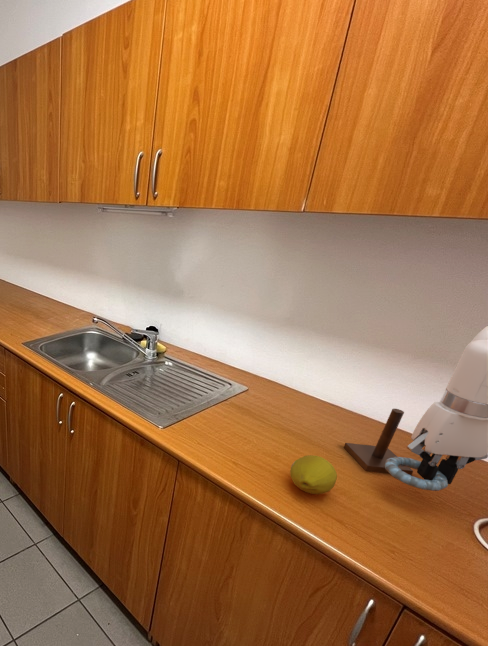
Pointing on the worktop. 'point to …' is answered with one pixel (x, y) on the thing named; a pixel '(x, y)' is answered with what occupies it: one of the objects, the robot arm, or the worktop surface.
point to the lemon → (313, 474)
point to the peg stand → (378, 447)
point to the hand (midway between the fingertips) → (433, 477)
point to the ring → (393, 468)
